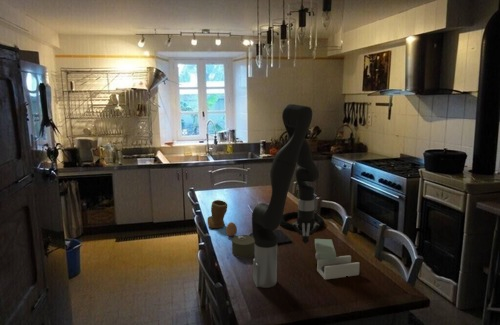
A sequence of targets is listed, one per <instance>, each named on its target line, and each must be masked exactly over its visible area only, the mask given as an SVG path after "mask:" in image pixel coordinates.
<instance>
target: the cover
mask: <svg viewBox="0 0 500 325" xmlns="http://www.w3.org/2000/svg"><path fill="white" fill-rule="evenodd" d="M314 248H315V258H314V259H316V260H317V259H336V257H337V252H336V249H335V246H334V243H333V239H327V238H314Z"/></svg>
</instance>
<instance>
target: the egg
mask: <svg viewBox="0 0 500 325" xmlns="http://www.w3.org/2000/svg"><path fill="white" fill-rule="evenodd" d="M237 228H238V227H237V225H236V223H234V222H232V221H231V222H229V223H228V224H227V225H226V228H225V232H226V234H227V236H229V237H235V235H236V234H237V232H238V229H237Z"/></svg>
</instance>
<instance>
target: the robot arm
mask: <svg viewBox="0 0 500 325" xmlns="http://www.w3.org/2000/svg"><path fill="white" fill-rule="evenodd" d="M281 114H282V115H281V116H282V123H283V126H284V128H285V129H286V130H285V131H286V133H287V135H288V137H289V140H288V142H286V144H284V145H283V146H282V147H281V148H280V149H279V150H278V151H277V152H276V154H275V155H274V157H273V161H272V165H271V167H270V172H269V174H270V184H271V197H270V200H269V204H266V203H263V202H262V203H258V204H257V205H256V206H255V207H254V208H253V211H252V213H251V214H252V215H251V227H252V229H251V231H252V236H253V237H254V240H255V255H254V258H253V259H252V281H253V282H254V285H255V286H256V288H264V289H268V288H269V289H270V288H273V287H274V286H276V284H277V282H278V281H277V278H278V274H277V272H278V237H277V235H276V234H275V232H274V231H276V230H277V229H278V227H279V226H281V225H280V223H281V220H282V216H283V214H284V212H285V206H286V202H287V201H286V200H287V196H288V193H289V189H290V186H291V182H292V179H293V176H295V179H296V183H297V186H298V201H297V212H298V217H297V219H296V221H295V222H293V223H292V224H293V227H294V228H295V230H296V231H295V232H296V233H297V234H299V236H300V235H301V236H302V237H301V238H302V243H303V244H308V243H309V236H313V235H314V233H315V232H316V231H317V230H319V229H320V228H319V224H317V223H318V222H317V221H316V220H314V212H315V188H314V186H312V185H309V184H307V183H306V182H310V183H314V182H316V181H318V179H319V176H320V173H319V169H318V167H317V165H316V163H315V161H314V159H313V154H312V151H311V150H312V149H311V146H310V145H309V143H308V141H307V140H306V139H305V138H306V136H307V133H308V131H309V128H310V126H311V123H312V120H313V109H312V108H311V106H307V105H300V104H292V103H289V104H287V105H285V107H284V108H283V110H282V113H281ZM294 173H295V175H294ZM298 225H299V226H300V227H301V228H302V231H301V230H300V229H299V228H298ZM313 225H314V227H313V229H312V230H311V231H309V230H310V228H311V227H312V226H313ZM318 228H319V229H318ZM305 229H306V231H305Z"/></svg>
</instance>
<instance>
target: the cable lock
mask: <svg viewBox="0 0 500 325" xmlns="http://www.w3.org/2000/svg"><path fill="white" fill-rule="evenodd" d="M292 218H298V211H292V212H287V213H286V212H285V213H283V216H282V220H281V223H280V225H279V226H281V227H283V228H285V229H287V230H291V231H295V232H297V231H296V230H295V228H294V227H293V223H290V222H287V221H286V220H288V219H292ZM314 220H315V222H316V223H317V224H319V228H318V229H317V230H320V229H321V228H322V227H324V224H325V221H324V219H323V217H321V216H320V215H319V214H318V212H317V211H314ZM313 227H314V225H313V226H312V227H311V228H310V230H309V232H310V231H311V230H312V229H313ZM298 228H299V229H300V230H301V231H302V228H301V227H300V226H299V225H298ZM305 232H306V229H305Z"/></svg>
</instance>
